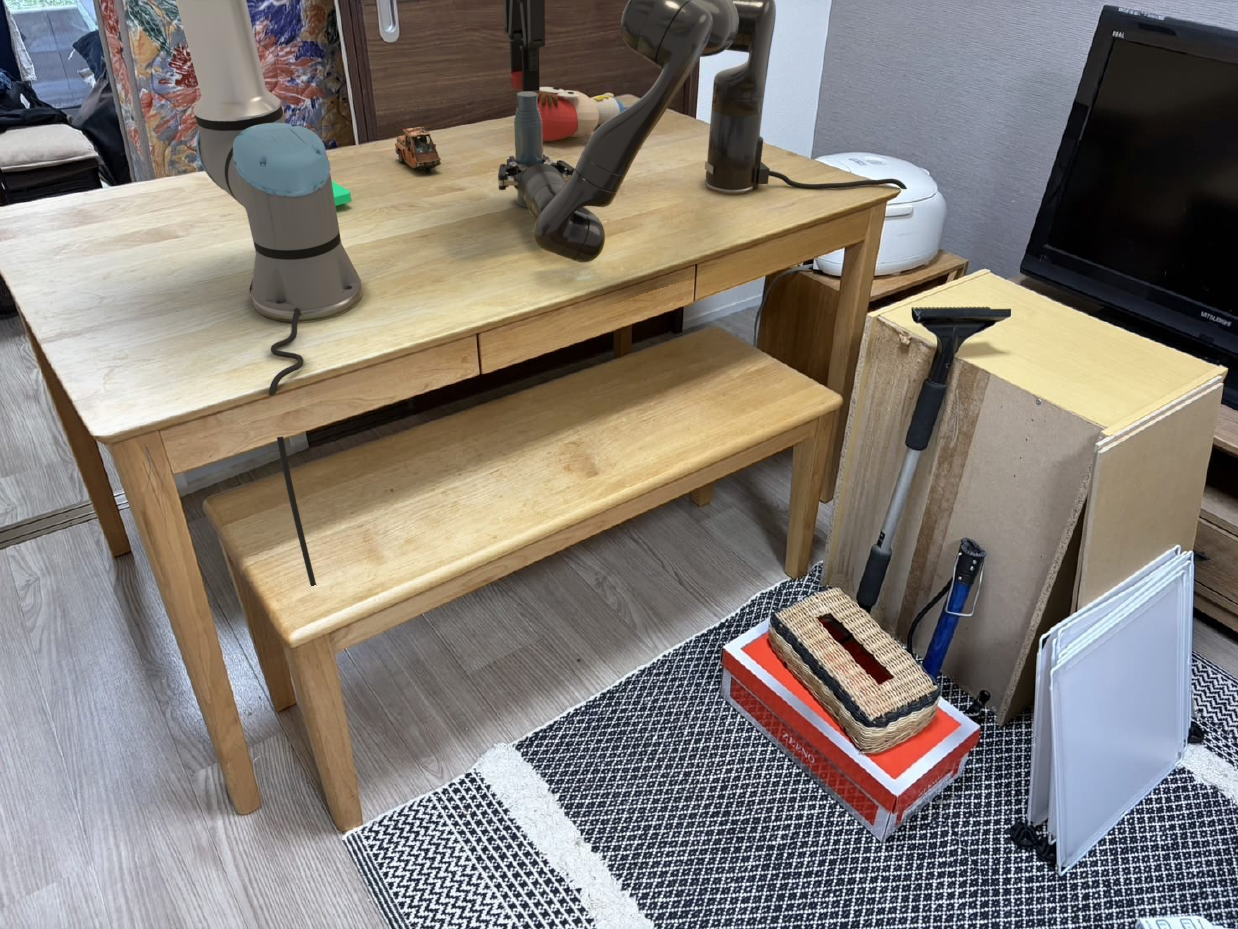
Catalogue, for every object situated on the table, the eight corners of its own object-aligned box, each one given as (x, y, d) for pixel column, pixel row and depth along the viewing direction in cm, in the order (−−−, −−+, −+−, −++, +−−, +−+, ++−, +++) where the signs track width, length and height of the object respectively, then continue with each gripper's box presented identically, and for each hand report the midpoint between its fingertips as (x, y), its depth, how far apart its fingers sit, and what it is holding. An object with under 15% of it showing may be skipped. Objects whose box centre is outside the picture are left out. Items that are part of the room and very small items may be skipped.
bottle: (548, 205, 166) (545, 96, 155) (522, 208, 164) (518, 99, 153) (538, 196, 169) (535, 88, 158) (513, 199, 168) (508, 91, 156)
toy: (674, 93, 197) (551, 94, 182) (670, 142, 202) (549, 147, 187) (627, 81, 210) (509, 80, 195) (624, 127, 215) (508, 131, 200)
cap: (543, 84, 156) (542, 72, 155) (534, 91, 152) (534, 79, 151) (516, 81, 157) (516, 69, 156) (507, 88, 153) (506, 76, 152)
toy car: (418, 153, 186) (414, 118, 181) (449, 170, 178) (446, 134, 174) (389, 159, 182) (385, 123, 178) (419, 177, 175) (416, 140, 171)
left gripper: (479, -81, 146) (486, 75, 160) (519, -66, 133) (523, 102, 147) (523, -82, 148) (527, 71, 162) (567, -67, 136) (566, 98, 150)
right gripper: (589, 169, 151) (565, 136, 164) (502, 175, 148) (485, 141, 161) (588, 213, 156) (565, 178, 169) (504, 220, 152) (487, 184, 165)
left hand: (525, 85), depth 155 cm, fingers closed on cap, 5 cm apart
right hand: (526, 160), depth 165 cm, fingers closed on bottle, 5 cm apart
